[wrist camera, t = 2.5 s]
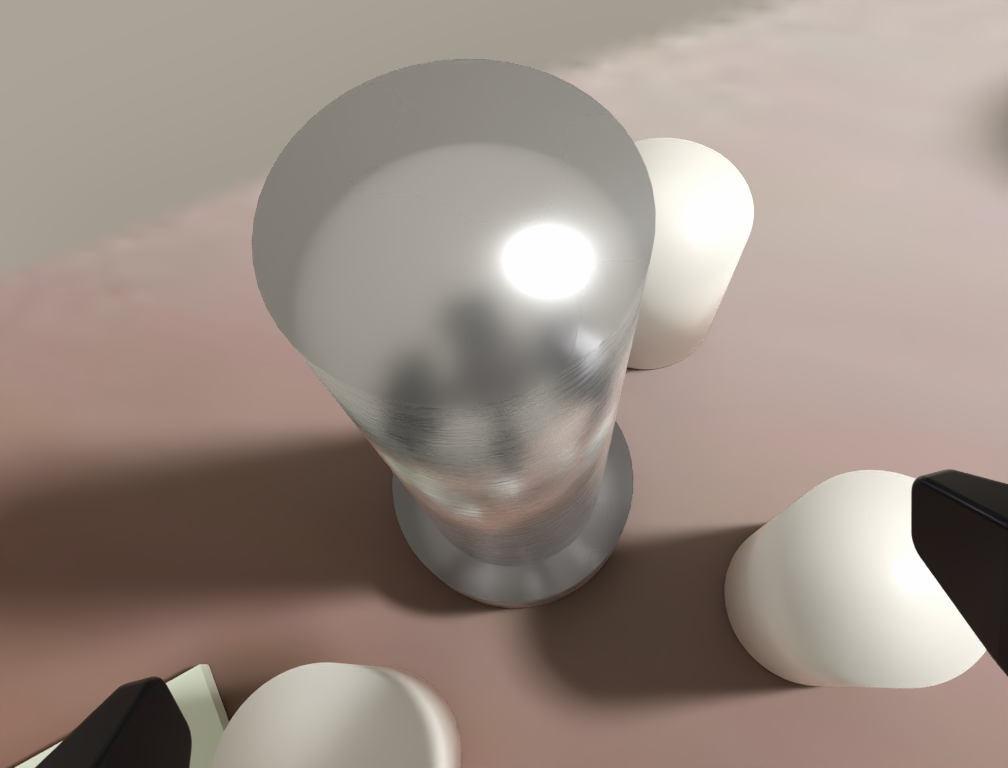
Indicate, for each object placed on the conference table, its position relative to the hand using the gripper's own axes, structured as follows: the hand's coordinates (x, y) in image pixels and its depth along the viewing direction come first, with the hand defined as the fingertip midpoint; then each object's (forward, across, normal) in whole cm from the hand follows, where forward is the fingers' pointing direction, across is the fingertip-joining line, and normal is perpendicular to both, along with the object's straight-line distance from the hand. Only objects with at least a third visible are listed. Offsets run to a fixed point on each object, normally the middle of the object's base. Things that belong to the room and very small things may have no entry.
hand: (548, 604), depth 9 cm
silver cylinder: (+10, 0, +5) cm, 11 cm away
